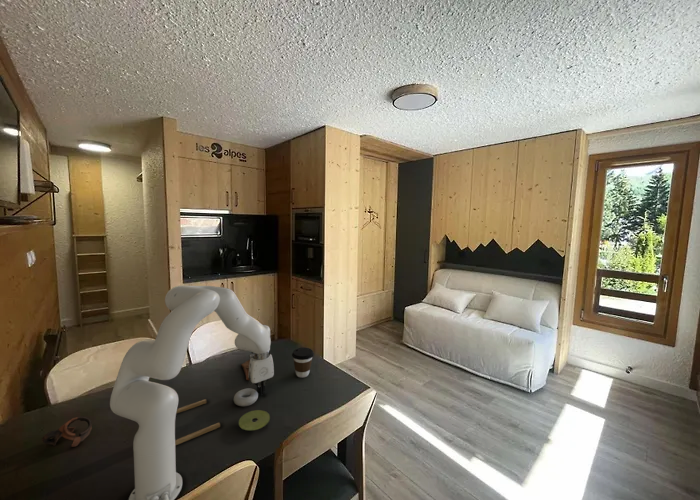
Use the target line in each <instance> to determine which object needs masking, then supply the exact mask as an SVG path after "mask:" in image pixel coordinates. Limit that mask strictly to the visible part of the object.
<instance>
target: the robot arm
mask: <svg viewBox="0 0 700 500" xmlns="http://www.w3.org/2000/svg"><path fill="white" fill-rule="evenodd" d="M164 304H165V307H166V308H167V309H168V310H169V311H170V312H169V313H168V314H167V315H166V316H165V317H164V319H163V320H162V322H161V324H160V326H159V328H158V330H157V334H156V335H155V339H142V340H139V341H138V342H136V343H134V344H133V345H132V346H131V347H130V348H129V349H128V350H127V352H126V353H125V354H124V356H123V359H122V361H121V364H120V367H119V370H118V372H117V376H116V378H115V382H114V385H113V387H112V391H111V393H110V398H109V407H110V410H111V412H112V413H113V414H114V415H117V416H119V417H122V418H125V419H127V420H131V421H133V422H136V423H137V424H138V429H137V431H136V433H135V434H134V437H133V441H132V442H133V443H132V447H133V448H132V451H133V472H134V473H133V474H134V476H133V477H134V488H133V490H132V491H131V493H130V495H129V497H128V500H175V499H176V498H177V497H178V496H179V495H180V492H181V491H182V488H183V477H182V475H181V474H180V473H178V472H177V466H176V464H177V463H176V461H177V460H176V459H177V458H176V446H175V440H176V418H177V417H176V416H177V414H176V412H177V409H178V406H179V394H178V393H177V391H176V390H175V389H174V388H173V387H171V386H168V385H166V384H162V383H158V382H154V381H150V379H155V380H159V381H169V380H172V379H174V378H176V377H177V376H178V375H179V373H180V372H181V370H182V368H183V365H184V361H185V358H186V354H187V351H188V348H189V344H190V341H191V337H192V335H193V332H194V330H195V329H196V326H197V325H198V324H199V323H200V322H202V320H203V319H205V318H206V317H208V316H210V315H211V314H212V313H214V312H215V314H217V316H218V317H219V319H220V320H221V322H222V324H223V325H224V326H225V328H226V329H228V330H230V331H231V332H233V333H235V334H237V335H236V336H235V338H234V346H235V347H236V349H238V350H241V351H246V352H251V353H249V354H248V357H249V360H250V364H249V374H248V377H249V380H248V385H249V386H253V385H255V386H256V391H257V393H258V395H259V396H263V395H265V391H266V385H267V382H269V380H271V379H273V377H274V376H275V367H274V359H273V355H272V354H271V344H272V341H271V340H272V339H271V328H270V326H269V325H266V324H262V323H261V322H260V321H258V320H257V319H255V318H254V317H253V316H251V315H250V314H248V313H247V311H246V309H245V308H244V306H243V304H242V303H241V301H240V299H239V298H238V296H237V294H236V293H235V292H234V290H232V289H231V288H227V287H223V286H222V287H221V286H214V285H176V286H174V287H172V288H170V289H169V290H168V291H167V293H166V294H165V297H164Z"/></svg>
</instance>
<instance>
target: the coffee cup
mask: <svg viewBox="0 0 700 500" xmlns="http://www.w3.org/2000/svg"><path fill="white" fill-rule="evenodd" d="M314 355H315V353H314V350H313V349H311V348H309V347H298V348H296V349H294V350H293V351H292V353H291V357H292V359H293V367H294V370H295V371H294V372H295V376H296V377H298V378H306V377H308V376H309V374H310V371H311V368H312V367H311V366H312V362H313V357H314Z"/></svg>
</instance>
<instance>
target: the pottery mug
mask: <svg viewBox="0 0 700 500" xmlns="http://www.w3.org/2000/svg"><path fill="white" fill-rule="evenodd" d="M76 421H80V422H86V423H87V425H88V426H87V428H86V429H85V430H83V431H81V432H79V434H78V435H76V433H74V431H75V429H76V426H71V424H73V423H74V422H76ZM92 426H93V422H92V419H90V418H89V417H87V416H76V417H73V418H71V419H69V420H68V421H67V422H64V423H63V424H62V425H61V426H59V428H58V429H55V430H51V431H48V432H47V433H45V434H44V435H43V436H42V438H41V441H42V443H43V444H44V445H51V446H53V447H56V446H57V443H58V441H59V439H60V438H64V439H66V440H68V441H72V443H71V445H70V447H71V448H75V447H77V446H78V445H80V443H82V442H83V441H84V440H85V439H86V438H87V437H88V436H89V435H90V434H91V432H92V429H93V427H92Z"/></svg>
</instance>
